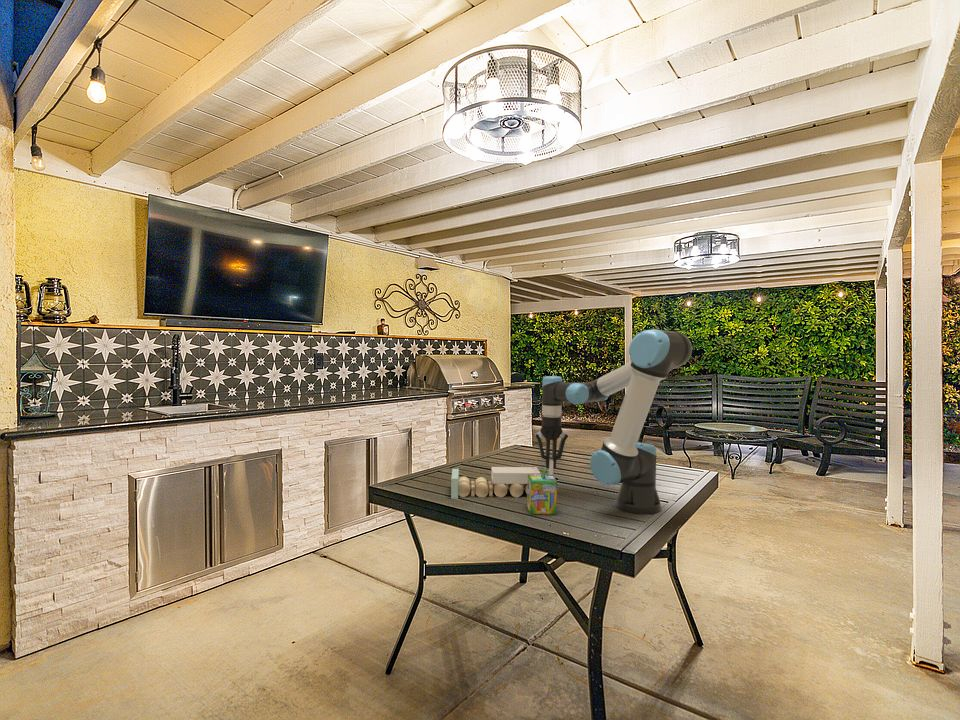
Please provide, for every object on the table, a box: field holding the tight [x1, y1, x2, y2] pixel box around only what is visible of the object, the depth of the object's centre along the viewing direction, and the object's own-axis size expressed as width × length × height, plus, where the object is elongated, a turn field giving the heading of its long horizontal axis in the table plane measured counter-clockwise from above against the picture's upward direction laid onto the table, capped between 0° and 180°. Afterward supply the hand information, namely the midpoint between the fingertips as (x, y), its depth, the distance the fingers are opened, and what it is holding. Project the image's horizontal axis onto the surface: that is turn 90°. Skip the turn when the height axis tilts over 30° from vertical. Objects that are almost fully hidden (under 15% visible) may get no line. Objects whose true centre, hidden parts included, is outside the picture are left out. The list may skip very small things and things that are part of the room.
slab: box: [490, 466, 542, 485], centre depth 189 cm, size 10×18×4 cm, turn 92°
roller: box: [474, 476, 489, 498], centre depth 189 cm, size 11×5×5 cm, turn 2°
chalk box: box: [526, 466, 558, 515], centre depth 169 cm, size 9×9×15 cm
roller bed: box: [458, 476, 528, 498], centre depth 189 cm, size 11×31×5 cm, turn 92°
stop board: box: [450, 468, 460, 500], centre depth 189 cm, size 16×2×8 cm, turn 2°
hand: (550, 476), depth 190 cm, fingers closed
